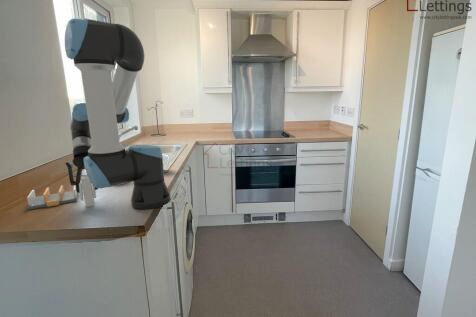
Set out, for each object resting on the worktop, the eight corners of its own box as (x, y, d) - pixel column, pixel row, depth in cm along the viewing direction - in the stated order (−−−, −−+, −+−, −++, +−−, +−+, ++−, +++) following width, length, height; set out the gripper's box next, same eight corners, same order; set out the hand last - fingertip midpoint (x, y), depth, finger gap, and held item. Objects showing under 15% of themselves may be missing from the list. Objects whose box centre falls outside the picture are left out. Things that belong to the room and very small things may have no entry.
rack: (76, 201, 107) (74, 190, 106) (28, 210, 100) (25, 198, 99) (78, 192, 118) (76, 182, 117) (35, 199, 111) (32, 189, 110)
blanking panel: (94, 205, 103) (89, 177, 100) (85, 206, 102) (80, 178, 99) (94, 200, 108) (90, 173, 106) (86, 201, 107) (81, 175, 104)
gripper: (105, 152, 118) (112, 197, 108) (61, 157, 110) (64, 206, 100) (104, 142, 112) (111, 189, 102) (57, 146, 105) (60, 198, 94)
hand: (88, 197), depth 101 cm, fingers open, 4 cm apart
